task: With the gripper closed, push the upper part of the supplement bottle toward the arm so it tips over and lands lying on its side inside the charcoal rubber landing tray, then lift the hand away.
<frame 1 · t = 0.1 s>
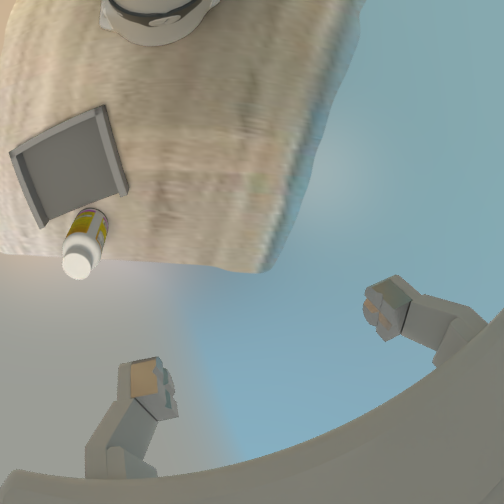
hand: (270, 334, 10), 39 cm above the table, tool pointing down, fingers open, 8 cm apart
landing tray: (69, 166, 36), on the table
supplement bottle: (92, 223, 43), on the table
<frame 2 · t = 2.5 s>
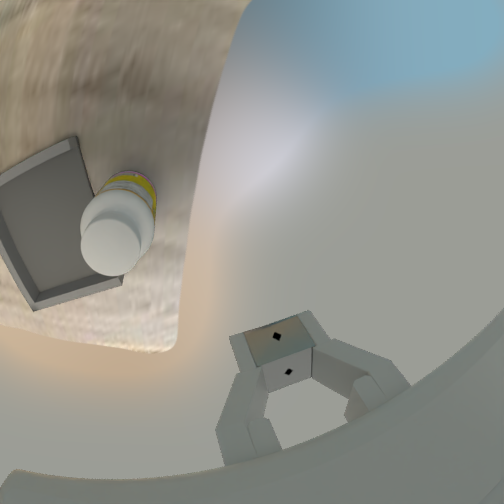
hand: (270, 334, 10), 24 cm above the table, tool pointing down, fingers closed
landing tray: (49, 227, 27), on the table
supplement bottle: (129, 197, 29), on the table
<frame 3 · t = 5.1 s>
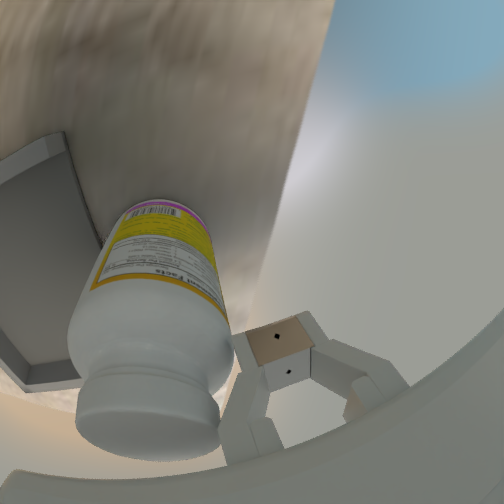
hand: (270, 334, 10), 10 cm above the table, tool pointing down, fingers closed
landing tray: (29, 285, 15), on the table
supplement bottle: (161, 243, 17), on the table, touching gripper
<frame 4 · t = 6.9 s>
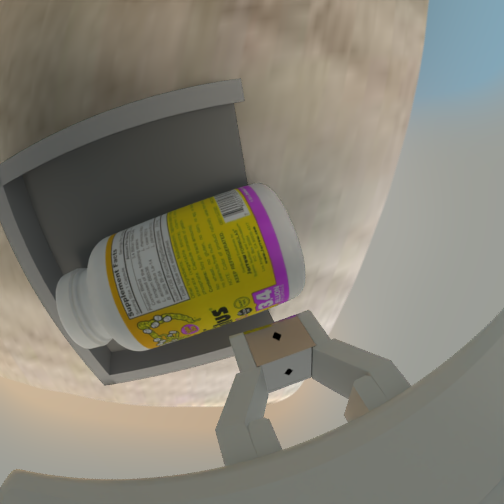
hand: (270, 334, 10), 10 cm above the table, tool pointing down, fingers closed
landing tray: (143, 250, 17), on the table
supplement bottle: (286, 236, 15), point 4 cm above the table, touching landing tray
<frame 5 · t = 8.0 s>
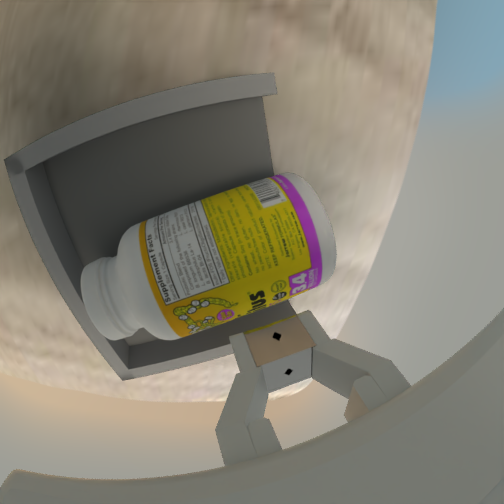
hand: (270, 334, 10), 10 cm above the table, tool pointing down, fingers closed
landing tray: (168, 240, 17), on the table
supplement bottle: (314, 224, 15), point 4 cm above the table, touching landing tray
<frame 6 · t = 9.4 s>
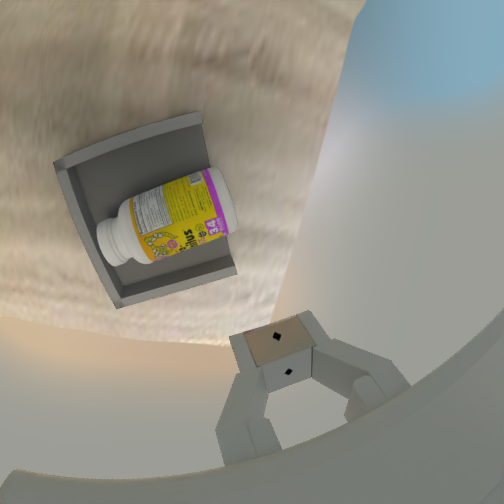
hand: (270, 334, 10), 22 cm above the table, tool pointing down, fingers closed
landing tray: (149, 211, 28), on the table
supplement bottle: (230, 196, 26), point 4 cm above the table, touching landing tray
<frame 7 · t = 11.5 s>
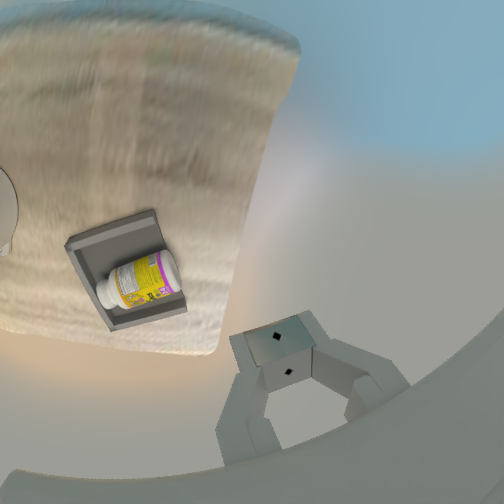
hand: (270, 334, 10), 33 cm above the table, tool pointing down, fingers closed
landing tray: (128, 271, 42), on the table
supplement bottle: (176, 268, 40), point 4 cm above the table, touching landing tray
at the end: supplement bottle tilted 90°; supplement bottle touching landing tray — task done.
